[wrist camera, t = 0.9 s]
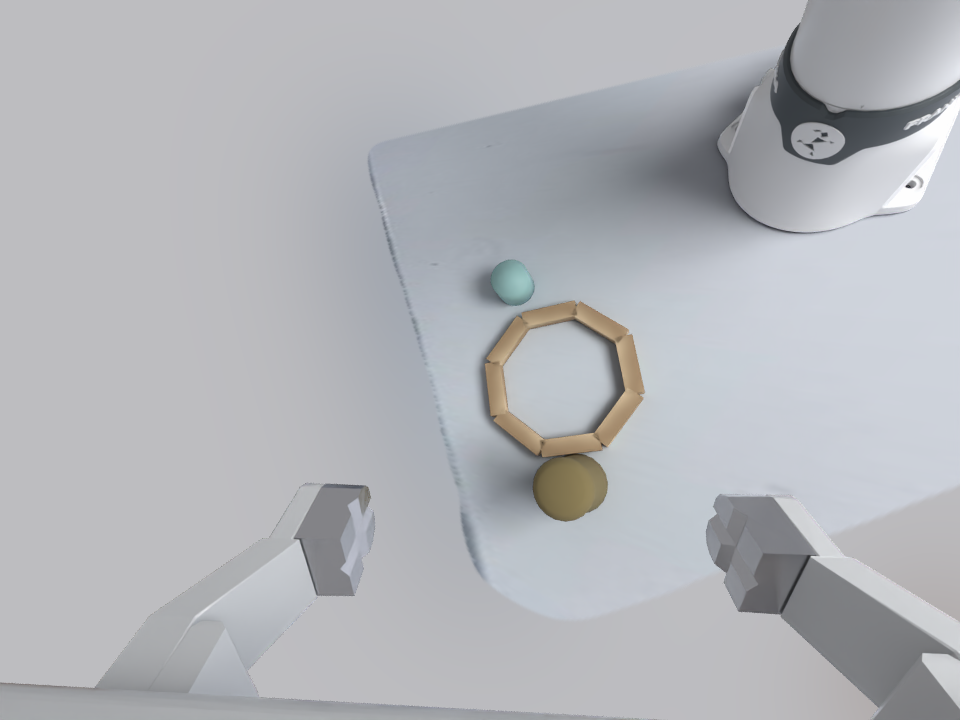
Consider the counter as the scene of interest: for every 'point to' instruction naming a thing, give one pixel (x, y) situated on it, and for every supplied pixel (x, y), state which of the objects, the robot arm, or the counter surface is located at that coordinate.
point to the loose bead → (512, 282)
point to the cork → (569, 486)
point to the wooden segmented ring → (615, 416)
